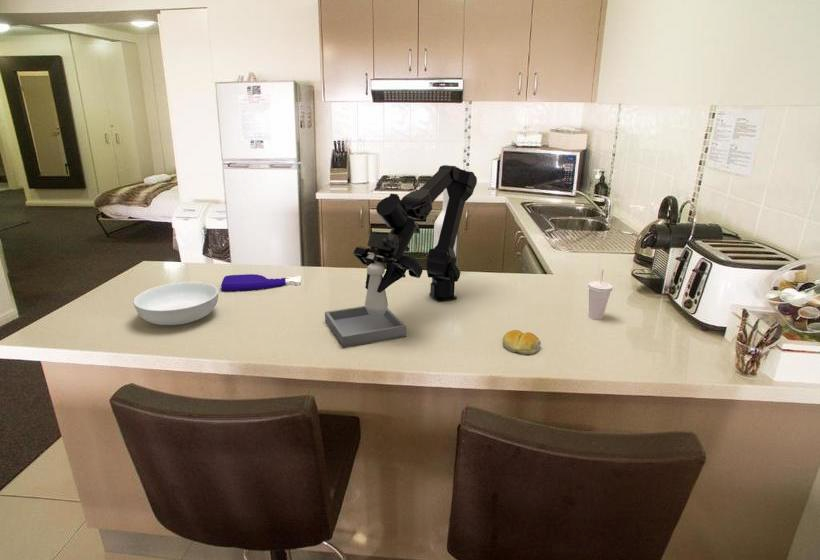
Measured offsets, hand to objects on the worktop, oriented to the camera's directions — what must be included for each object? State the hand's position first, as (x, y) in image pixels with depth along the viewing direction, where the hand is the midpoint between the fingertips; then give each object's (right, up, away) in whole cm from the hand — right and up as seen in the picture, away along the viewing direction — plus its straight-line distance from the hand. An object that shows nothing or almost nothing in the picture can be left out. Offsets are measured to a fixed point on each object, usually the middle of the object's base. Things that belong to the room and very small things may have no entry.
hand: (372, 290), depth 122 cm
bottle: (+21, +5, +54) cm, 58 cm away
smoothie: (+62, -8, +17) cm, 65 cm away
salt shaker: (+1, -6, +3) cm, 7 cm away
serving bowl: (-53, -8, +13) cm, 56 cm away
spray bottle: (-39, 0, +39) cm, 55 cm away
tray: (-3, -10, +8) cm, 13 cm away
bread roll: (+37, -14, 0) cm, 39 cm away
